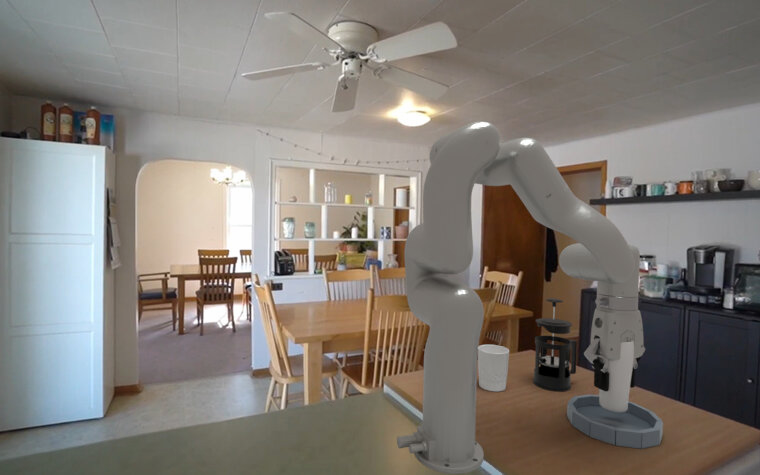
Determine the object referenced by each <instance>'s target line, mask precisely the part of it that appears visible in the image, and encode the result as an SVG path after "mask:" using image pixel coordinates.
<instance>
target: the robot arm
mask: <svg viewBox="0 0 760 475" xmlns="http://www.w3.org/2000/svg"><path fill="white" fill-rule="evenodd" d="M501 140H502V139H501V134H500V131H499V129H498V128H497V127H496V126H495V125H494V124H493V123H490V122H488V121H483V120H480V121H474V122H470V123H468V124H466V125H463V126H461V127H458V128H457V129H454V130H453V131H451V132H449V133H446V134H444V135H442V136H440V137H439V138H438V139H436V141H434V143H433V144H432V146H431V148H430V152H429V162H430V166H429V168H428V170H427V172H426V176H425V180H424V183H423V189H422V190H423V192H422V193H423V194H422V217H423V218H422V220H423V221H422V223H420V224H418V225H416V226H415V227H414V228H412V230H410V232H409V233H408V235H407V238H406V241H405V244H404V254H403V255H404V270H405V271H404V272H405V274H404V276H405V286H406V287H405V288H406V299H407V304H408V307H409V310H410V312H411V313H412V314H413V316H414V317H415V318H416V319H417V320H418V321H420V322H422V323H424V324H425V325H428V326H429V331H428V337H427V339H426V343H425V347H424V355H423V384H422V386H423V390H422V391H423V392H422V394H423V396H422V424H420V425H417V428H416V429H417V431H416V432H413V433H412V434H408V435H400V436H397V437H396V444H397V447H398V449H403V448H408V452H409V453H410V454H413V456H415V458H416V460H417V461H418V462H419V463H421V464H422V466H425V467H426V468H427V469H429V470H432V471H434V472H439V473H442V474H448V475H464V474H468V473H471V472H474V471H476V470H477V469H480V467H481V466H482V464H483V462H484V456H485V455H484V450H483V446H481V445H480V443H478V442H477V441H476V417H477V416H476V414H477V413H476V412H477V411H476V410H477V409H476V408H477V406H476V405H477V382H478V381H477V376H478V374H477V373H478V347H479V343H480V337H481V332H482V328H483V324H484V323H483V322H484V319H485V318H484V317H485V316H484V315H485V308H484V305H483V302H482V299H481V298H480V295H479V294H478V293H477V292H476V291H475V290H474V289H473V288H471V287H470V286H469V285H466V284H464V283H462V282H458V281H454V280H452V279H450V275H452V276H453V275H458V274H462V273H464V272H465V271H466V270H468V268H469V267H470V265H471V264H472V261H473V256H474V242H473V224H472V223H473V221H472V193H473V190H474V187H475V184H476V185H482V186H483V185H484V186H489V187H490V186H491V187H501V186H508V185H510V186H511V188H512V189H513V191H514V192H515V193H516V195H517V196H518V198H519V199H520V200H521V202H522V204H523V205H524V206H525V208H526V209H527V211H528V213H529V214H530V215H531V217H532V218H533V219H534V221H536V222H537V223H539V224H540V225H543V227H547V228H549V229H551V230H553V231H556V232H558V233H561V234H563V235H566V236H567V237H569V238H572V239H573V240H574V241H576V242H578V243H573V244H570V245H568V246H566V247H565V248H564V249H562V251H561V253H560V254H559V257H558V263H559V267H560V269H561V271H562V272H564V273H565V274H566V275H567V276H569V277H572V278H575V279H577V280H578V279H579V280H585V281H589V282H590V281H592V282H597V285H596V299H595V300H594V302H595V305H596V308H595V309H594V312H593V318H592V323H591V329H590V330H591V331H590V344H589V346H588V347H587V348H586V350H585V351H584V352H583V356H584V357H585V358H586V359H587V361H588V362H589V364H590V366H591V367H592V369H594V370H593V371H594V372H593V373H594V374H593V386H594V387H595V388H598V390H599V389H601V390H603V391H605V392H606V391H608V390H609V372H606V371H607V369H608V366H609V361H610V360H612V361H615V360H619V359H620V352H621V343H622V342H631V341H633V342H634V362H633V369H632V376H631V384H630V389H631V388H635V384H636V383H635V381H636V370H637V368H638V363H639V361H640V360H641V358H642V356H643V354H644V353H645V351H646V347H645V346H644V328H643V327H644V326H643V319H642V313H641V311H640V310H639V289H640V288H639V287H640V286H639V284H640V263H641V262H640V254H641V253H640V250H639V248H638V247H637V246H634V245H630V244H628V242H627V240H626V239H625V237H624V235H623V233H622V232H621V230H620V229H619V228H618V227H617V226H616V224H614V223H613V222H612V221H611V220H610V219H609V218H607V217H606V216H605V215H604V214H602V213H601V212H600V211H598V210H597V209H595V208H593V207H592V206H591V205H589V204H587V203H586V202H585V201H583V200H581V199H580V198H578V197H577V196H576V195H575V194H574V193H573V192H572V190H571V188H570V187H569V185H568V184H567V182H566V180H565V179H564V177H563V176H562V174H561V173H560V171H559V169H558V168H557V166H556V164H555V163H554V161H553V160H552V158H550V155H549V154H548V152H547V151H546V149H545V148H544V146H543V145H542V144H541V143H540V141H538V140H537V139H535V138H532V137H520V138H516V139H515V138H514V139H511V140H508V141H505V142H502V141H501ZM501 142H502V143H501ZM600 349H601V352H602V355H600V354H599V350H600ZM600 358H603V359H604V360H603V363H601V362H600Z"/></svg>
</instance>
